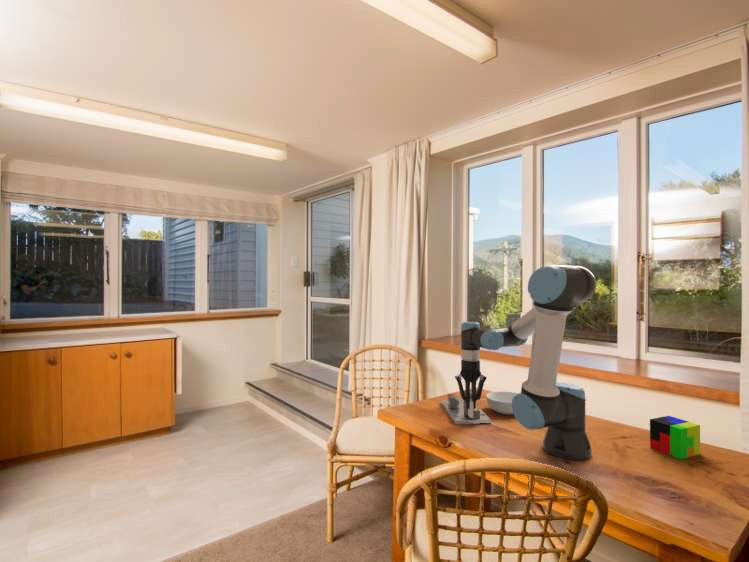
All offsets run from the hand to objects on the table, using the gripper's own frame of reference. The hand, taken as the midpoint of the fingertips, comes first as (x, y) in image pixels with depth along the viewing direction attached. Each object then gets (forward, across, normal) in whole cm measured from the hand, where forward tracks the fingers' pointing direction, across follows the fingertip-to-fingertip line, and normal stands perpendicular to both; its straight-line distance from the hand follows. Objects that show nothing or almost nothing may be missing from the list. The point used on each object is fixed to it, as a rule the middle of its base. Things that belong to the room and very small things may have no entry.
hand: (470, 416), depth 161 cm
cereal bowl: (+3, -20, -14) cm, 25 cm away
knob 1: (+1, +3, -19) cm, 19 cm away
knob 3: (+1, -2, -4) cm, 4 cm away
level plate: (+3, -1, -14) cm, 15 cm away
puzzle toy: (+3, -63, +29) cm, 69 cm away
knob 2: (+1, -8, -27) cm, 28 cm away
